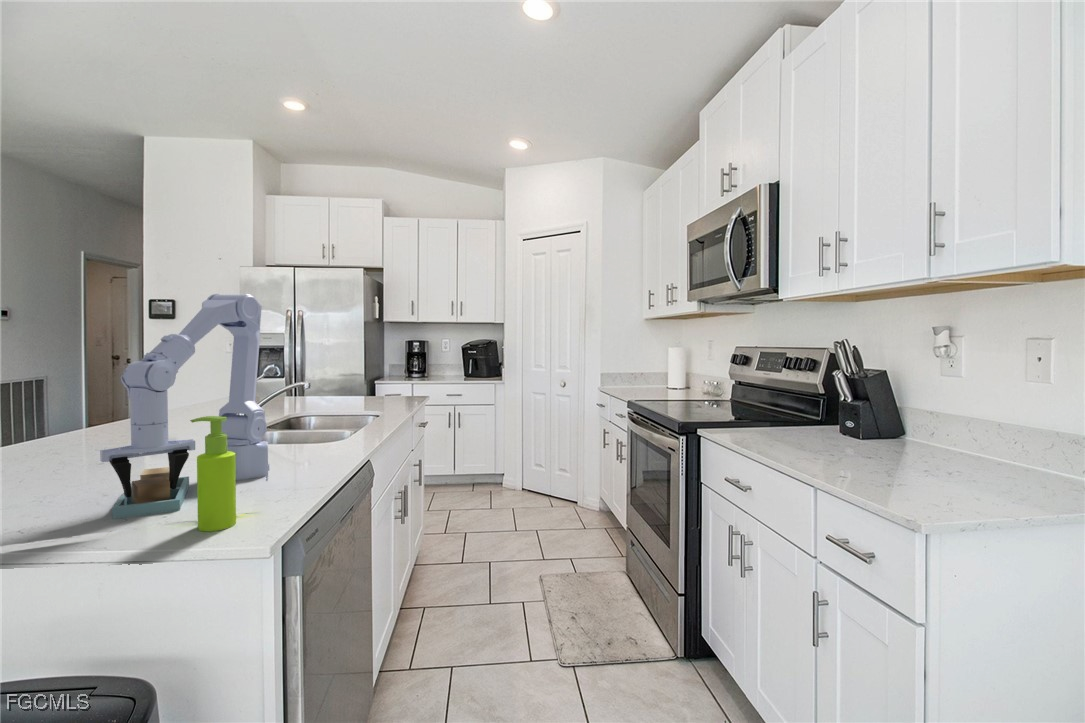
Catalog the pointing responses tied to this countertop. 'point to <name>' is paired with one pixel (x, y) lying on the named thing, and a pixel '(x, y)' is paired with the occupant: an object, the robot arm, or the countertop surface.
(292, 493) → the countertop surface
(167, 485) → the walnut block
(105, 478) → the countertop surface
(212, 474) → the soap dispenser
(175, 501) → the caddy
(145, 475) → the oak twin block
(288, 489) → the countertop surface
